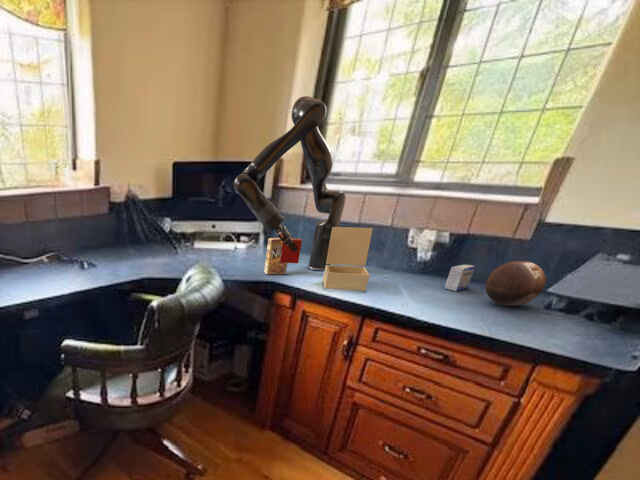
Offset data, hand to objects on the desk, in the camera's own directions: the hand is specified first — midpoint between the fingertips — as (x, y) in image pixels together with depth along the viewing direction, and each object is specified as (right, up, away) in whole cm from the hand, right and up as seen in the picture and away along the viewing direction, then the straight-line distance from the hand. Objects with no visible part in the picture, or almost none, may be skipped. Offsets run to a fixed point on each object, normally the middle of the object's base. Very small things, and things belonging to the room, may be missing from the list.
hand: (296, 249), depth 169 cm
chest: (+19, -15, +1) cm, 24 cm away
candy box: (-1, -4, +21) cm, 22 cm away
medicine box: (+61, -17, -5) cm, 63 cm away
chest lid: (+22, +1, +1) cm, 22 cm away
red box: (-2, -4, +3) cm, 5 cm away
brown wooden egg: (+64, -27, -23) cm, 73 cm away
